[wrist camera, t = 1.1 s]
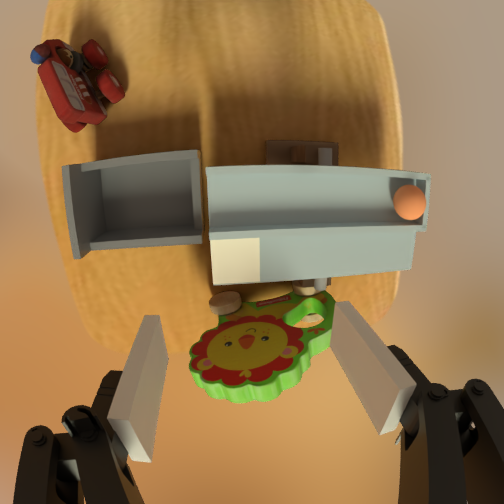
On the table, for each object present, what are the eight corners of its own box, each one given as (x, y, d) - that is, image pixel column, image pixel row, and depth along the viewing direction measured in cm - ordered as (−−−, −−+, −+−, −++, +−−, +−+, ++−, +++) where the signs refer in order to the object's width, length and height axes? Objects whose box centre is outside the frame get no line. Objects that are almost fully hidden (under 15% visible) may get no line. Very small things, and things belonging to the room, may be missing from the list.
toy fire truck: (96, 36, 23) (59, 2, 13) (135, 109, 27) (100, 89, 17) (52, 70, 23) (5, 50, 13) (87, 144, 27) (37, 142, 17)
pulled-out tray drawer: (96, 163, 28) (61, 166, 20) (201, 151, 29) (194, 148, 21) (103, 236, 30) (74, 259, 23) (204, 229, 32) (200, 252, 24)
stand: (265, 140, 29) (277, 136, 23) (334, 143, 30) (360, 140, 24) (266, 271, 34) (277, 296, 28) (330, 267, 35) (351, 289, 29)
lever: (206, 148, 23) (204, 147, 20) (411, 156, 25) (431, 158, 22) (214, 292, 27) (214, 309, 24) (400, 276, 29) (416, 288, 26)
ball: (387, 181, 24) (407, 185, 20) (413, 183, 24) (434, 188, 21) (385, 215, 25) (404, 223, 21) (411, 216, 25) (431, 223, 22)
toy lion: (317, 267, 35) (376, 336, 20) (321, 305, 36) (372, 382, 22) (190, 296, 34) (176, 385, 20) (202, 332, 36) (198, 425, 21)
